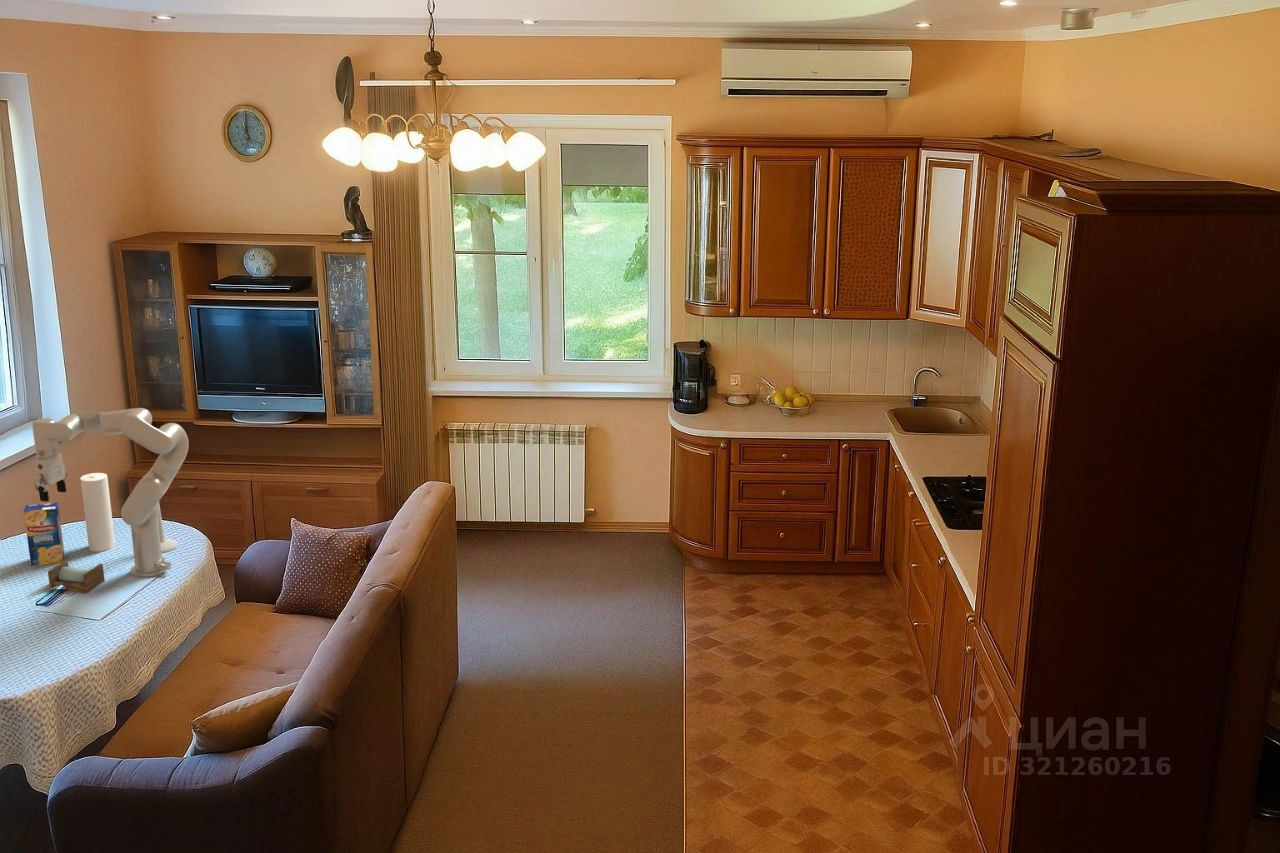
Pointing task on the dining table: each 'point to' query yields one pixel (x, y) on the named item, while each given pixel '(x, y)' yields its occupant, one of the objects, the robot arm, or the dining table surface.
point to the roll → (72, 575)
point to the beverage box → (44, 533)
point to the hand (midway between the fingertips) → (53, 496)
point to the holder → (90, 582)
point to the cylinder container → (97, 512)
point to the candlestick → (165, 542)
